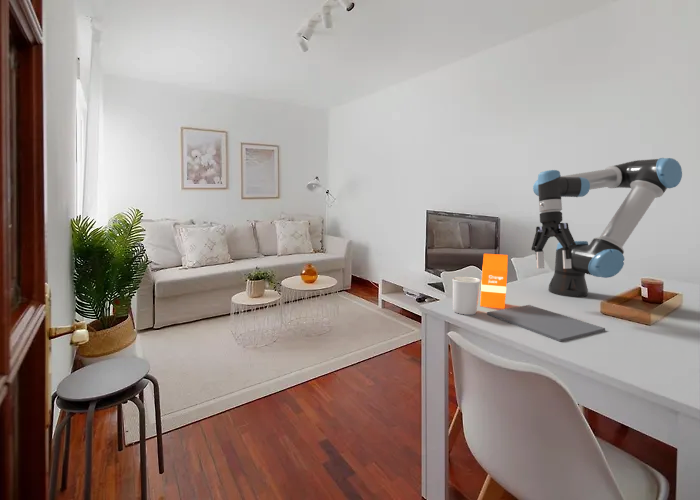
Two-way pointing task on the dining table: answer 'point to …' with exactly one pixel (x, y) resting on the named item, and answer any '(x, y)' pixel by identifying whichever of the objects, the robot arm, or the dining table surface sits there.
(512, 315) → the mat
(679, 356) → the dining table surface
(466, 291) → the white cup
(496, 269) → the orange juice
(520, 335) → the dining table surface
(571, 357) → the dining table surface
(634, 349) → the dining table surface
